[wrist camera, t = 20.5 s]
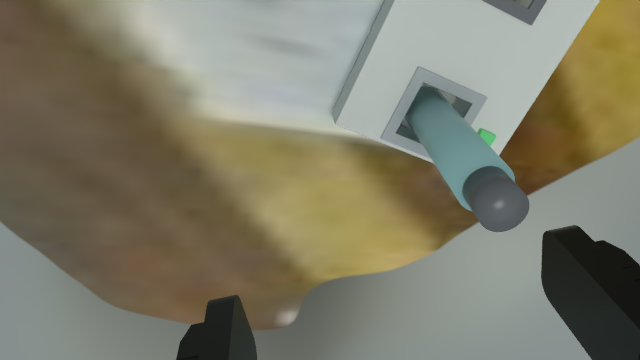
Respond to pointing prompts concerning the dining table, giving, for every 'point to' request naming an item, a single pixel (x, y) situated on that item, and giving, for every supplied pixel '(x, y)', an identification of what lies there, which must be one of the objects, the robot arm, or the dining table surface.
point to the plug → (467, 162)
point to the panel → (457, 64)
